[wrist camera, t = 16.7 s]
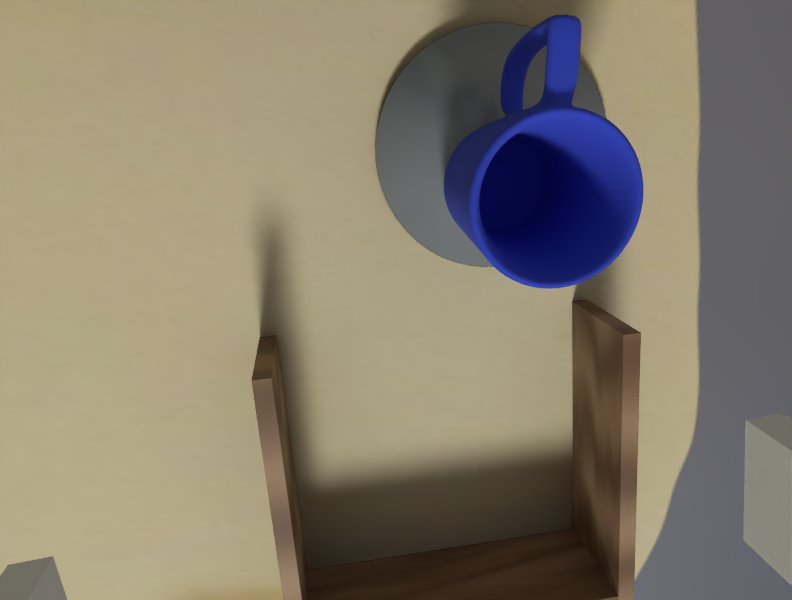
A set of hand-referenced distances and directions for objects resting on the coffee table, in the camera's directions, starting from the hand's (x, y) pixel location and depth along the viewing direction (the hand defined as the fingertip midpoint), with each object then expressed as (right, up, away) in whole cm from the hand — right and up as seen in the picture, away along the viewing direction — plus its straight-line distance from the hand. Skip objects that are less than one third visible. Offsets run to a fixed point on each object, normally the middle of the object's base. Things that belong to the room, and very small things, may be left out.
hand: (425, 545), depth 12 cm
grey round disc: (+5, +14, +27) cm, 30 cm away
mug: (+5, +14, +26) cm, 30 cm away
